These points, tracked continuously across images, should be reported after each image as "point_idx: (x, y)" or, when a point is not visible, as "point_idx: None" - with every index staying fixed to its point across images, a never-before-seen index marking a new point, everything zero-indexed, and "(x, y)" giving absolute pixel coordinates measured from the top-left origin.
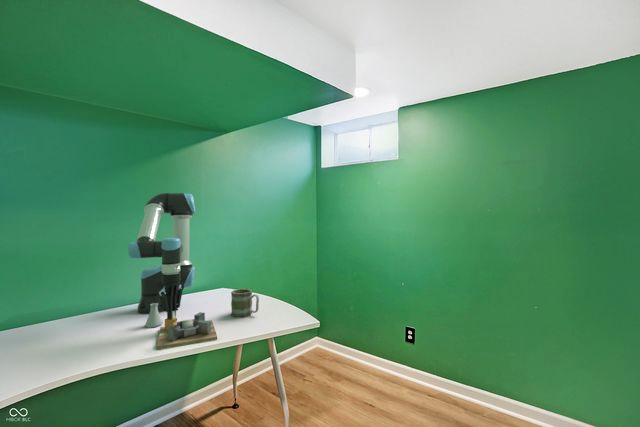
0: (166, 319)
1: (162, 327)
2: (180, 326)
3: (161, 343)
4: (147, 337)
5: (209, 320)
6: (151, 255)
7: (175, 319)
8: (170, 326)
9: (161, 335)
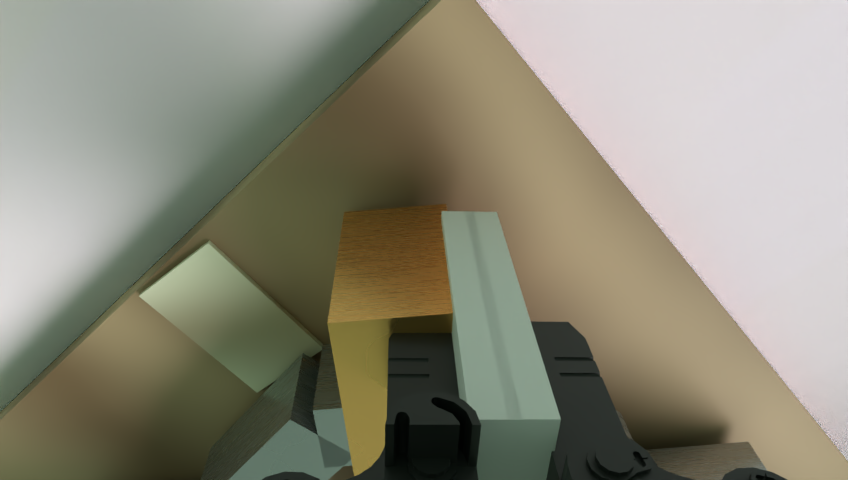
0: (334, 360)
1: (463, 37)
2: None
3: (16, 465)
4: (109, 37)
5: (841, 470)
6: None
7: None
8: (279, 429)
9: (172, 307)
